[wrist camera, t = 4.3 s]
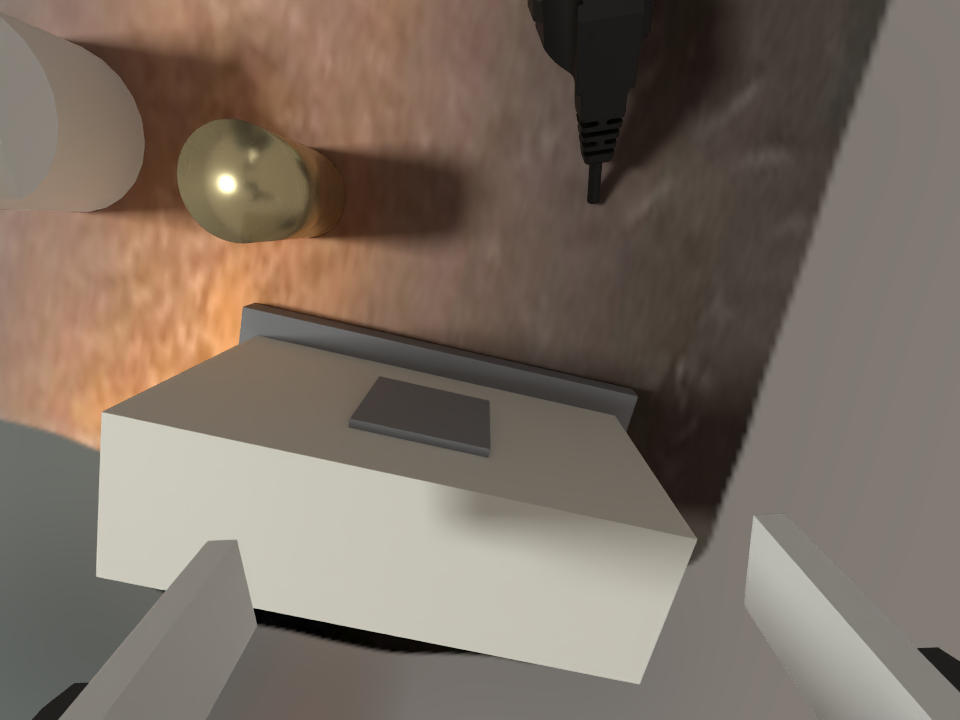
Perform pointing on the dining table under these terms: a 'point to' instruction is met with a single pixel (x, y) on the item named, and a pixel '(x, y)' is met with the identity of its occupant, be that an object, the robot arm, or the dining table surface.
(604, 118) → the power plug
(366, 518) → the box
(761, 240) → the dining table surface
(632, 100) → the dining table surface
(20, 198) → the cylinder with rectangular tab
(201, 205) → the cylinder
